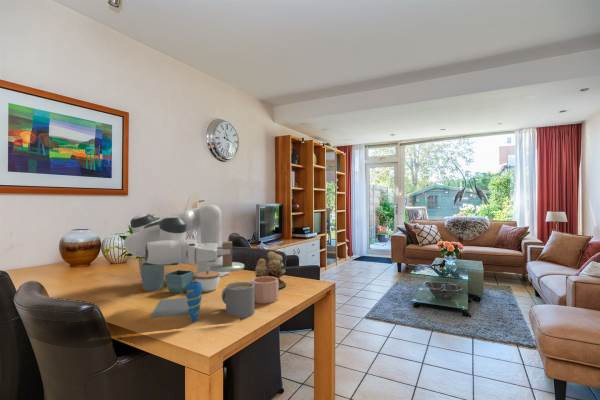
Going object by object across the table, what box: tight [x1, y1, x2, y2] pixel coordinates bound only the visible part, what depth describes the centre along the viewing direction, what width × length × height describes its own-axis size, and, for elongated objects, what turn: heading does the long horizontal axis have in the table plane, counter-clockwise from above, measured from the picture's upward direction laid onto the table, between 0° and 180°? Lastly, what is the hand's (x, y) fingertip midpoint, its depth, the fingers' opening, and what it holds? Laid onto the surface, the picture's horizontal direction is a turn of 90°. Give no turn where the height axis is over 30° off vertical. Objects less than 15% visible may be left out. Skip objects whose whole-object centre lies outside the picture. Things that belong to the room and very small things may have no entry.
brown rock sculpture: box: [254, 251, 287, 291], centre depth 141 cm, size 18×12×17 cm, turn 137°
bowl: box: [250, 276, 280, 305], centre depth 124 cm, size 11×11×8 cm
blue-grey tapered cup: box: [139, 261, 165, 292], centre depth 142 cm, size 10×10×12 cm
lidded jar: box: [194, 270, 221, 293], centre depth 136 cm, size 11×11×9 cm
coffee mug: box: [221, 281, 255, 319], centre depth 110 cm, size 13×10×10 cm
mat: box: [149, 295, 203, 319], centre depth 115 cm, size 20×16×1 cm
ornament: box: [185, 278, 203, 323], centre depth 100 cm, size 5×5×15 cm
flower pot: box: [164, 269, 195, 294], centre depth 134 cm, size 9×9×9 cm
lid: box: [210, 240, 245, 273], centre depth 117 cm, size 13×13×10 cm
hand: (229, 250), depth 117 cm, fingers closed on lid, 3 cm apart
